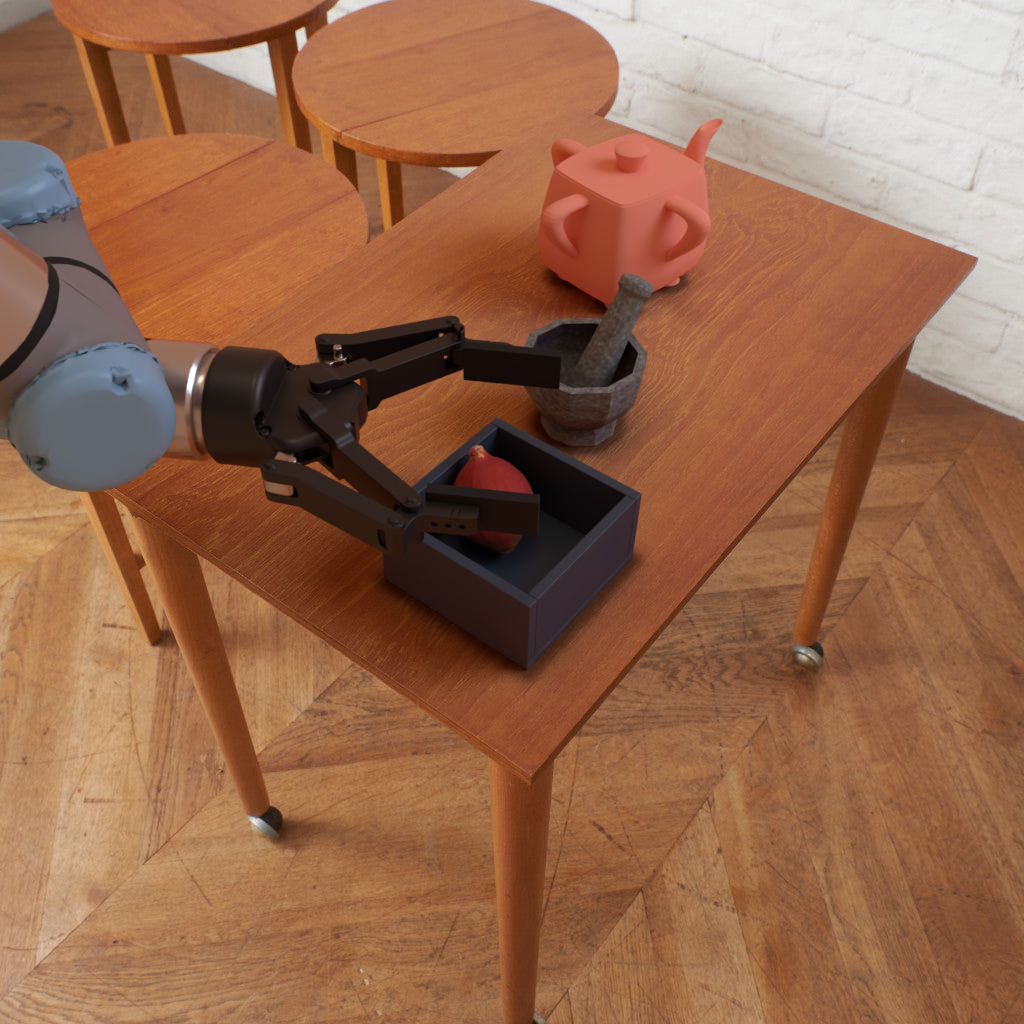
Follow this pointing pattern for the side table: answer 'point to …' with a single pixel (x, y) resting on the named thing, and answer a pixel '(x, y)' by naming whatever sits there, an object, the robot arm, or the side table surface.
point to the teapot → (625, 211)
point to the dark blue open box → (524, 549)
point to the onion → (492, 476)
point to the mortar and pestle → (593, 368)
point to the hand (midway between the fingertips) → (551, 437)
